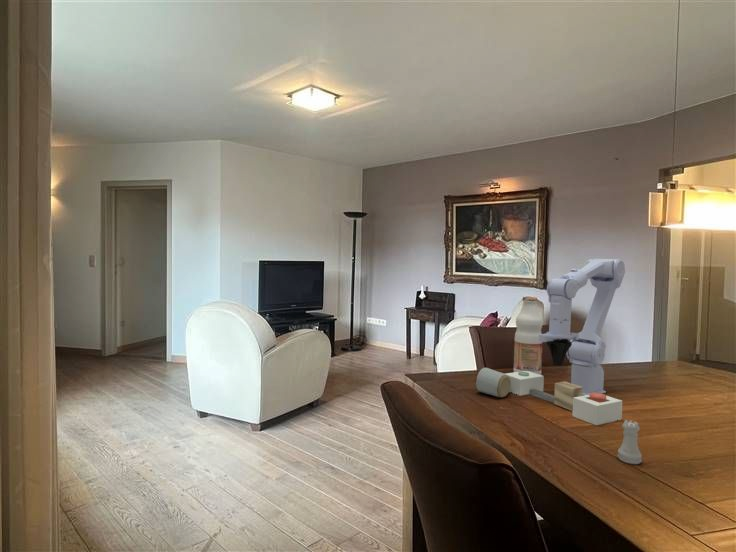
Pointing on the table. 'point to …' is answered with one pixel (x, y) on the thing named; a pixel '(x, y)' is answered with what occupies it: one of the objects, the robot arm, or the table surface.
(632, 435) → the rook chess piece
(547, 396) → the rail
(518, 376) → the white button box
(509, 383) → the ceramic mug
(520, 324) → the fruit juice
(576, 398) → the white button housing
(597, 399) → the knob
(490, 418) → the table surface
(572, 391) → the block
